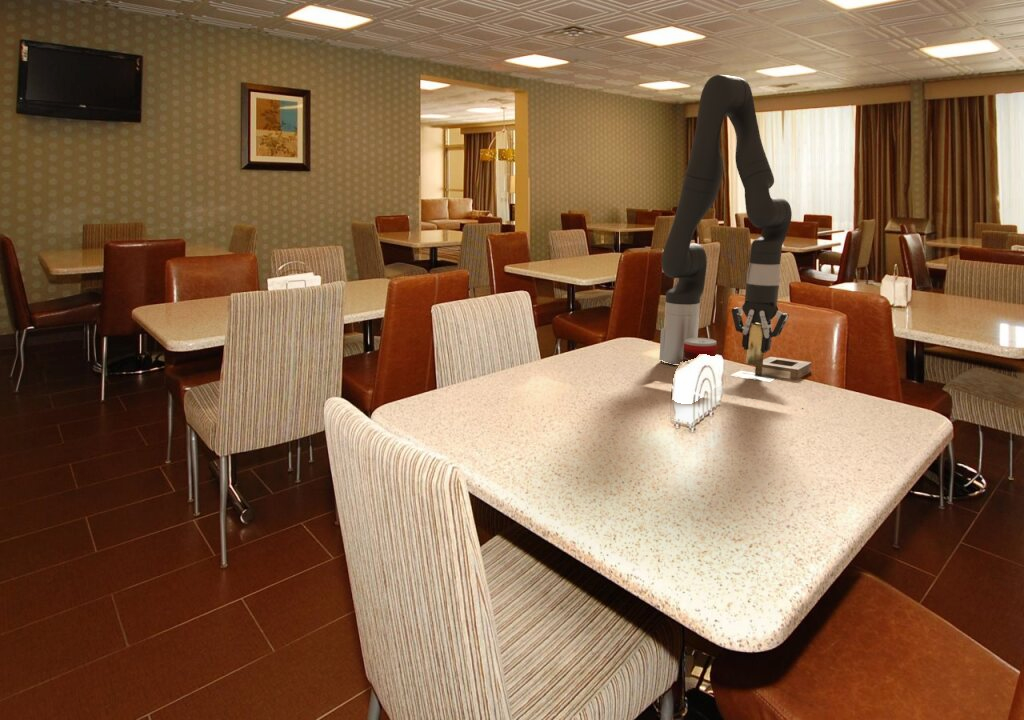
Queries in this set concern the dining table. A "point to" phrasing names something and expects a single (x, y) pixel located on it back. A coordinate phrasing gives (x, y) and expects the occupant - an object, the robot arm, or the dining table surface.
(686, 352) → the canned food
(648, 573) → the dining table surface
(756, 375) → the white flat slab
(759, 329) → the cylinder
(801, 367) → the grey square socket block
